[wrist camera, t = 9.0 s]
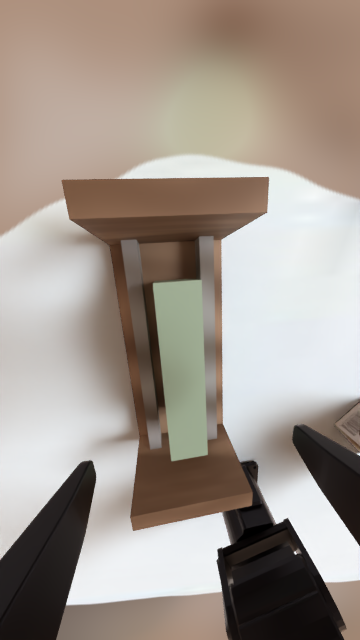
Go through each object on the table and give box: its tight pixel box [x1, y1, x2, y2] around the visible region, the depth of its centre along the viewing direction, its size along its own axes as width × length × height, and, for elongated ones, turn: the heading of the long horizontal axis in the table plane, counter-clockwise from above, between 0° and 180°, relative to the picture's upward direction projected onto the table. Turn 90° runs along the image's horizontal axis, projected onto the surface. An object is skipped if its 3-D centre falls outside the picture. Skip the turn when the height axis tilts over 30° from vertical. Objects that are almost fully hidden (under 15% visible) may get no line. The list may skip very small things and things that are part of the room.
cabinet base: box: [62, 177, 269, 531], centre depth 15 cm, size 24×10×8 cm, turn 4°
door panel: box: [153, 279, 208, 461], centre depth 15 cm, size 14×3×6 cm, turn 4°
